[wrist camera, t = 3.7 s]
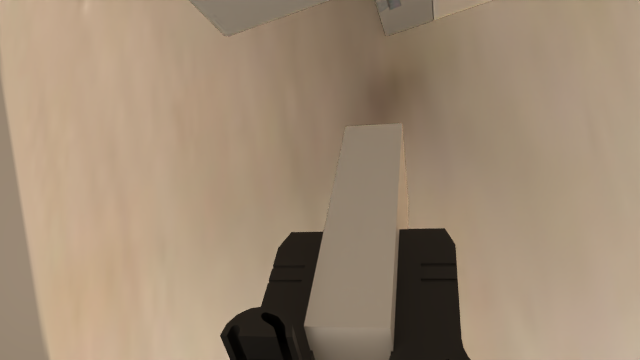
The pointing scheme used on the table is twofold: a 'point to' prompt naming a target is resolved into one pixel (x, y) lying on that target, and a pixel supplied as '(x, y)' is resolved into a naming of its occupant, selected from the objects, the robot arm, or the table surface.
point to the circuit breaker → (273, 3)
